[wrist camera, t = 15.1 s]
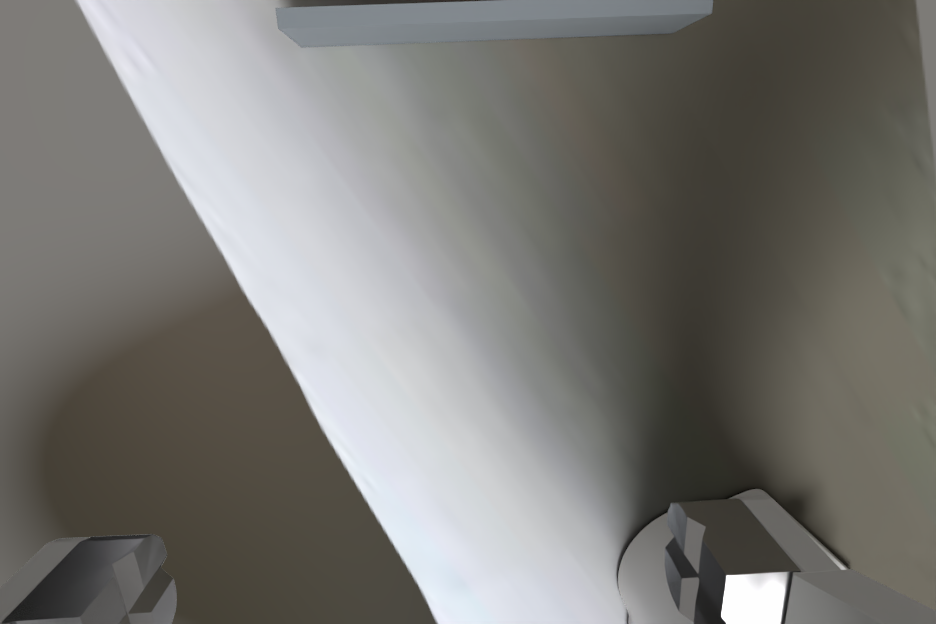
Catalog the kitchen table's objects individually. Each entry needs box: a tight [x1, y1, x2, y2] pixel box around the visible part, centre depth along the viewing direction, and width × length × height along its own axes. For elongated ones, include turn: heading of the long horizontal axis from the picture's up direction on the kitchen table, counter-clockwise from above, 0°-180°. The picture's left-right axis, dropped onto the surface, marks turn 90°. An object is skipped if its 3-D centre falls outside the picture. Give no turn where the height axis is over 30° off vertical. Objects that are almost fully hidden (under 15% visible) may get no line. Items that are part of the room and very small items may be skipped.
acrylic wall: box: [276, 0, 713, 47], centre depth 31 cm, size 24×1×5 cm, turn 93°
